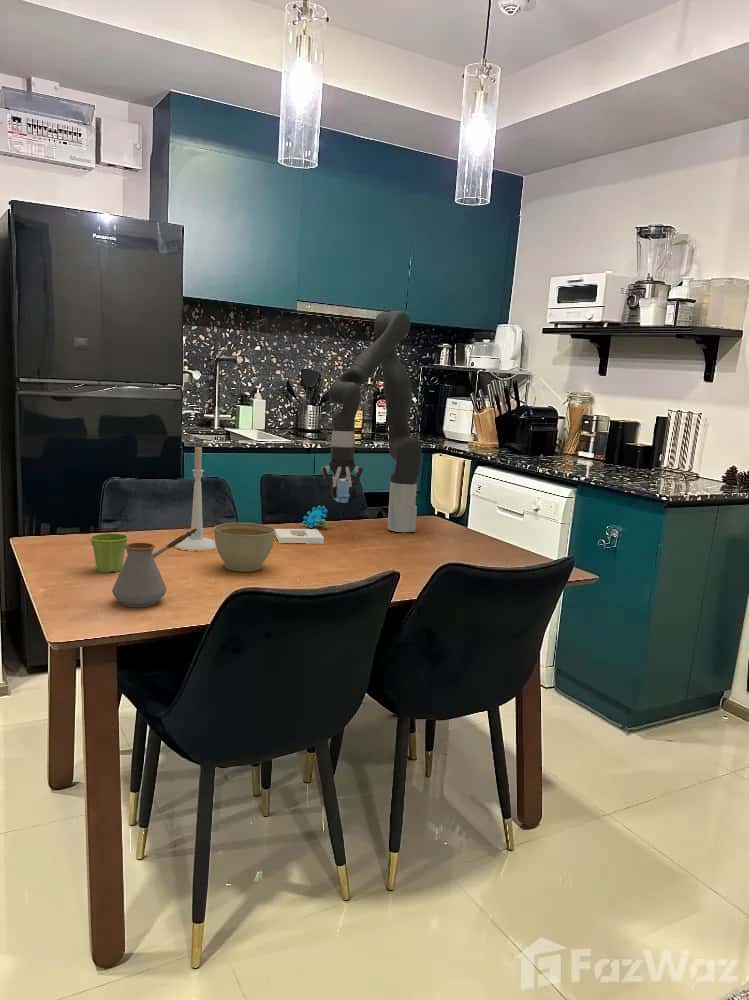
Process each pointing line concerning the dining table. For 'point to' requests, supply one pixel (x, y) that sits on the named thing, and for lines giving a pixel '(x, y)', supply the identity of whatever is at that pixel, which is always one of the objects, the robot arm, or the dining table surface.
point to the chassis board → (291, 536)
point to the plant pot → (109, 551)
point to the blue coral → (316, 517)
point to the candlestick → (197, 512)
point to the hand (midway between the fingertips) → (341, 497)
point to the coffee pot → (142, 575)
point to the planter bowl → (243, 545)
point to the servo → (342, 490)
